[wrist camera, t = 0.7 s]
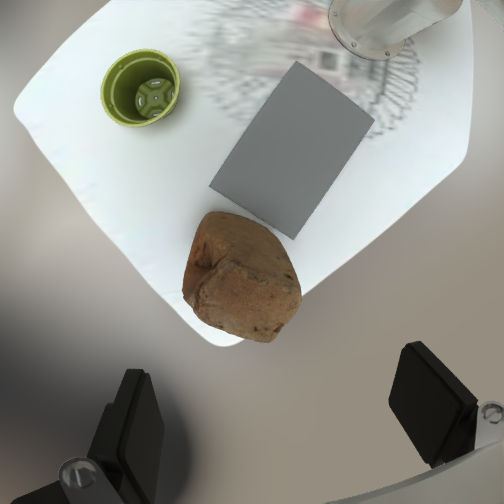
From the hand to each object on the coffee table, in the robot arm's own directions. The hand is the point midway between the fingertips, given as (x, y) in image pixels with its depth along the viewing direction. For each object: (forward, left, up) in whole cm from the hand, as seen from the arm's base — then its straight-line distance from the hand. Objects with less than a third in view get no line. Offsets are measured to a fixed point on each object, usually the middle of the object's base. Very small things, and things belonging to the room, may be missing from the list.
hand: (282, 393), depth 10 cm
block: (+4, +1, -35) cm, 35 cm away
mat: (-11, +1, -35) cm, 36 cm away
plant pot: (-7, -19, -35) cm, 40 cm away
